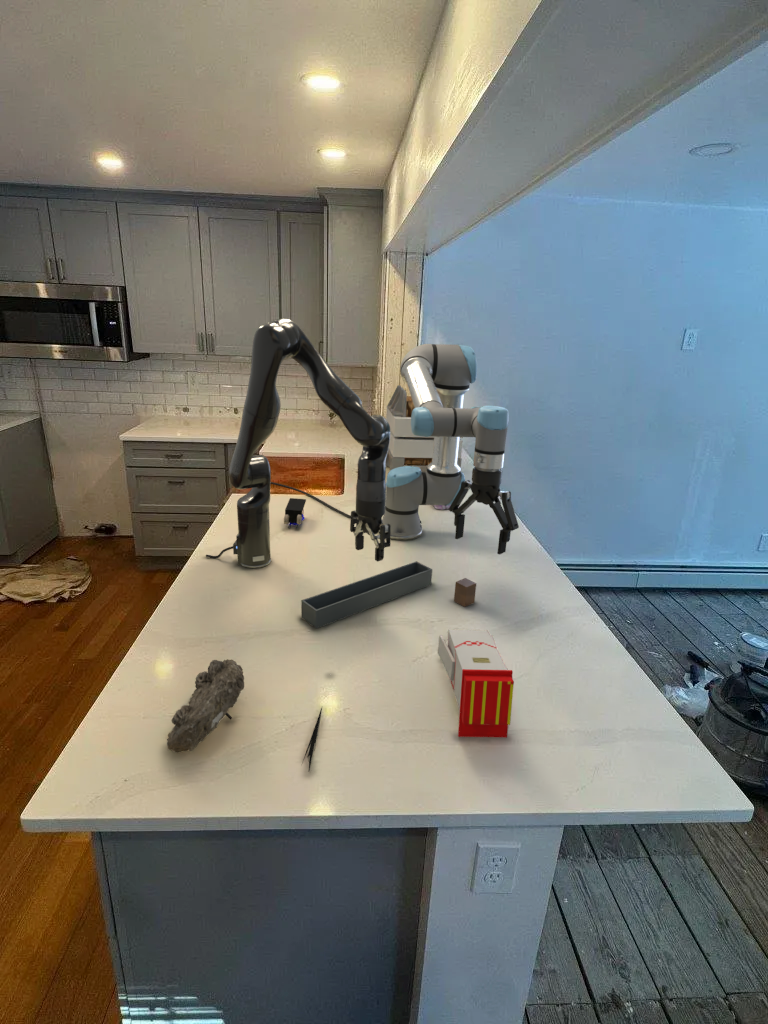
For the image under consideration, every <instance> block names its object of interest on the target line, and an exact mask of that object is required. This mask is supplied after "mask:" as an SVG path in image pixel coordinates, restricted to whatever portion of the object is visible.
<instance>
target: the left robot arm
mask: <svg viewBox="0 0 768 1024" xmlns="http://www.w3.org/2000/svg"><path fill="white" fill-rule="evenodd" d="M289 358H291V359H293V360H294V361H295V362H296V363H298V364H299V365H300V366H301V367H302V368H303V370H304V371H305V372H306V373H307V375H308V377H309V379H310V382H311V384H312V387H313V389H314V391H315V393H316V395H317V397H318V398H319V399H320V400H321V402H322V403H323V404H324V405H325V406H326V407H327V408H328V410H330V411H331V413H333V414H334V415H335V416H336V417H337V418H338V419H339V420H340V421H341V422H342V424H343V426H344V427H345V428H346V430H347V431H348V433H349V434H350V436H351V437H352V438H353V439H354V440H355V442H357V443H358V444H359V445H361V446H362V451H361V454H360V456H359V457H358V460H357V479H356V485H355V510H351V512H350V516H351V518H350V523H349V531H350V532H351V533H353V536H354V539H355V540H354V546H355V550H356V551H361V550H363V549H364V547H365V536H364V535H365V534H367V535H368V536H370V539H371V541H373V543H374V546H375V547H374V561H376V562H381V561H383V560H384V558H385V548H389V547H391V539H390V536H391V526H390V524H383V522H382V519H383V515H384V514H385V504H386V481H387V480H386V479H387V475H386V474H387V473H386V472H387V466H386V457H387V453H388V448H389V442H390V425H389V423H388V421H387V420H386V417H385V416H383V415H381V414H372V415H370V414H369V413H368V412H367V411H366V409H365V408H364V406H363V401H362V399H361V398H360V397H359V395H357V394H356V392H355V391H353V389H351V388H350V386H348V385H347V384H346V383H345V382H344V381H343V380H342V379H341V378H340V377H339V376H338V374H337V373H336V372H335V371H334V370H333V369H332V368H331V366H330V365H329V364H328V363H327V362H326V360H325V359H324V357H323V356H322V355H321V354H320V352H319V351H318V350H317V349H316V347H315V346H314V345H313V343H312V342H311V340H310V339H309V337H308V336H307V335H306V334H305V332H304V330H302V328H301V327H300V326H299V325H298V324H297V323H296V322H295V321H293V320H292V319H291V318H286V317H282V318H277V319H273V320H272V321H269V322H266V323H264V324H262V325H260V326H259V327H258V328H257V329H256V331H255V333H254V336H253V338H252V349H251V363H250V372H249V378H248V384H247V391H246V396H245V400H244V404H243V409H242V414H241V421H240V427H239V432H238V436H237V440H236V444H235V447H234V451H233V454H232V456H231V459H230V463H229V470H228V476H229V481H230V484H231V485H232V487H233V488H235V489H237V490H248V489H250V490H249V491H248V492H247V493H246V494H244V495H243V496H241V497H239V498H238V500H237V501H236V512H237V513H236V514H237V515H236V516H237V535H236V536H235V537H236V540H235V541H234V543H233V544H232V546H229V547H226V548H224V549H223V550H221V551H220V552H219V554H217V555H210V554H205V557H206V558H209V559H210V558H211V559H218V558H220V557H221V556H222V555H223V554H224V553H226V552H228V551H230V550H232V552H233V555H236V557H237V566H242V567H243V568H247V569H260V568H264V567H267V566H268V565H270V564H271V562H272V558H271V532H270V531H271V529H270V528H271V527H270V526H271V525H270V503H271V485H272V484H271V482H272V481H271V479H272V477H271V476H272V472H271V471H272V470H271V465H270V461H269V459H268V457H266V456H265V455H264V454H255V453H256V451H257V450H258V449H259V448H260V447H261V446H262V445H263V444H264V443H265V442H266V441H267V440H268V439H269V437H270V436H271V435H272V434H273V432H274V431H275V429H276V427H277V424H278V422H279V421H278V420H279V416H280V413H281V406H282V405H281V399H280V395H279V392H278V388H277V378H278V375H279V370H280V367H281V365H282V363H283V361H285V360H288V359H289Z"/></svg>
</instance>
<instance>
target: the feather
mask: <svg viewBox="0 0 768 1024" xmlns="http://www.w3.org/2000/svg"><path fill="white" fill-rule="evenodd" d="M329 675H330V676H331V675H332V674H331V673H330V674H329ZM322 710H323V707H321V708H320V710H319V713H318V716H317V719H316V723H315V725H314V728H313V731H312V733H311V737H310V739H309V742H308V745H307V748H306V751H305V754H304V757H303V760H302V763H301V767H302V765H303V763H304V761H305V758H308V759H309V760H308V762H307V763H308V764H307V766H308V771H310V770H311V766H312V765H311V764H312V760H313V757H315V756H314V755H315V751H316V749H315V746H317V739H318V733H319V729H320V722H321V717H322V712H323V711H322ZM313 754H314V755H313ZM306 755H307V757H306Z"/></svg>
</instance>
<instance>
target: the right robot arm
mask: <svg viewBox="0 0 768 1024" xmlns="http://www.w3.org/2000/svg"><path fill="white" fill-rule="evenodd" d="M399 366H400V368H399V371H400V376H401V379H402V381H403V383H404V384H405V385H407V388H408V391H409V395H410V396H411V398H412V401H413V404H414V407H415V408H414V409H413V411H412V415H411V430H412V433H413V434H414V435H416V436H425V437H434V443H433V455H432V462H431V463H430V464H429V465H428V466H426V471H422V469H421V467H420V466H407V465H404V466H403V467H398V468H394V469H392V470H391V471H390V470H388V473H386V474H387V475H386V480H385V481H386V503H385V514H384V515H383V516H382V522H383V524H390V526H391V536H390V540H395V541H410V540H415V539H418V538H420V537H421V536H422V535H423V525H422V524H423V523H422V520H421V518H420V515H419V507H420V506H433V505H444V506H447V505H451V506H450V507H449V509H448V510H449V512H452V513H453V515H454V519H453V520H454V522H453V525H454V526H455V536H454V539H455V540H460V539H462V538H463V537H464V531H465V521H466V520H465V519H466V514H464V513H465V511H466V510H468V509H469V508H470V507H471V506H472V505H473V504H474V503H475V502H477V503H481V504H483V505H485V506H489V508H490V509H491V510H492V511H493V513H494V515H495V517H496V519H497V521H498V523H499V525H500V526H501V529H500V530H499V535H498V543H497V544H498V545H497V555H502V554H504V553H506V550H507V543H509V542H510V540H511V532H513V531H516V530H518V529H519V528H520V526H519V523H518V519H517V515H516V512H515V509H514V506H513V502H512V492H511V490H506V491H502V490H501V484H502V480H503V479H502V478H503V470H502V469H503V468H504V461H505V452H506V451H505V450H506V444H507V434H508V427H509V417H510V416H509V415H510V412H509V410H508V409H507V408H506V407H504V406H503V407H502V406H497V405H483V406H472V407H470V408H468V407H467V408H466V407H465V408H464V398H465V397H464V396H465V394H466V393H467V392H468V391H470V386H471V384H474V383H476V380H477V375H478V361H477V357H476V353H475V350H474V349H473V347H471V346H470V345H465V344H464V345H463V344H447V343H446V344H443V343H439V344H438V343H435V344H434V343H423V344H419V345H417V346H415V347H413V348H411V349H410V350H409V351H407V353H405V355H404V356H403V358H402V360H401V363H400V365H399ZM460 437H463V438H475V440H474V441H475V442H474V451H473V452H474V453H473V463H472V466H473V468H472V471H471V480H470V479H467V480H466V477H465V474H464V472H462V467H461V468H460V467H459V466H458V465H457V458H458V448H459V438H460ZM460 439H461V438H460ZM471 481H472V482H471ZM271 485H274V486H277V487H282V488H286V489H289V490H292V491H296V492H298V493H301V494H303V495H305V496H308V497H310V498H312V499H314V500H316V501H317V502H319V503H321V504H323V505H324V506H326V507H328V508H330V509H331V510H334V511H335V512H336V513H339V514H341V515H343V516H345V517H347V518H349V519H351V514H350V515H349V514H348V513H346V512H344V511H342V510H340V509H338V508H336V507H334V506H332V505H330V504H328V503H327V502H325V501H323V500H322V499H320V498H318V497H317V496H314V495H312V494H311V493H308V492H306V491H304V490H301V489H299V488H295V487H293V486H289V485H285V484H282V483H277V482H273V481H271ZM469 490H470V491H471V495H470V496H468V497H467V499H466V500H465V501H464V499H465V498H466V495H467V494H468V492H469Z"/></svg>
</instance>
